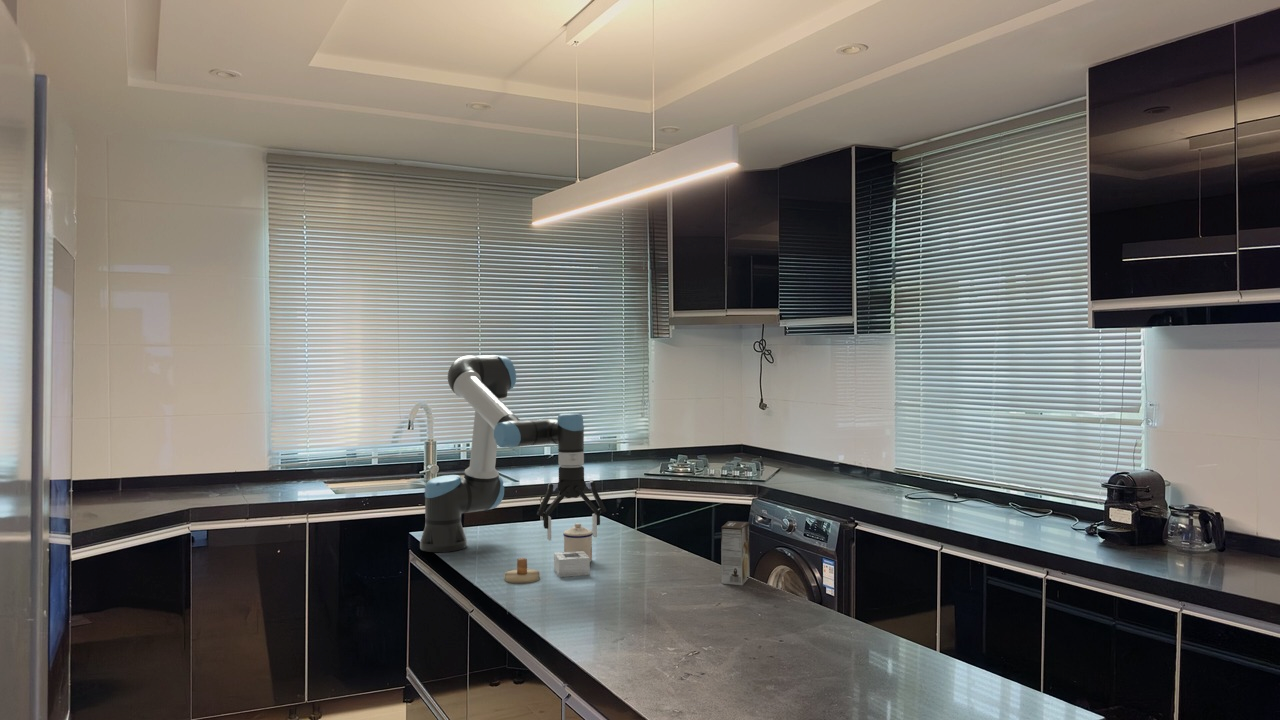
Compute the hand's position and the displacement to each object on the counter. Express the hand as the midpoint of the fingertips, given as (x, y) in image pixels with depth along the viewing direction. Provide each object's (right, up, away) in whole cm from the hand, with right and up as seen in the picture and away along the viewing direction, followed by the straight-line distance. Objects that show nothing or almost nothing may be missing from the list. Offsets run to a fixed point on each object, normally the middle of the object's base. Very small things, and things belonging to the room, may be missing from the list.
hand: (572, 538), depth 250 cm
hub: (-14, -10, -7) cm, 18 cm away
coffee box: (+47, -10, -9) cm, 49 cm away
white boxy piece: (0, -10, 0) cm, 10 cm away
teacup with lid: (0, -10, +15) cm, 18 cm away
